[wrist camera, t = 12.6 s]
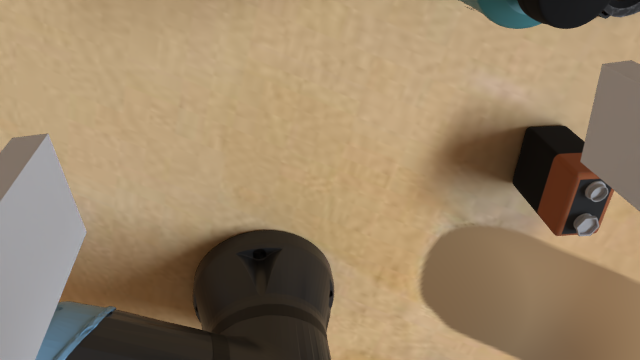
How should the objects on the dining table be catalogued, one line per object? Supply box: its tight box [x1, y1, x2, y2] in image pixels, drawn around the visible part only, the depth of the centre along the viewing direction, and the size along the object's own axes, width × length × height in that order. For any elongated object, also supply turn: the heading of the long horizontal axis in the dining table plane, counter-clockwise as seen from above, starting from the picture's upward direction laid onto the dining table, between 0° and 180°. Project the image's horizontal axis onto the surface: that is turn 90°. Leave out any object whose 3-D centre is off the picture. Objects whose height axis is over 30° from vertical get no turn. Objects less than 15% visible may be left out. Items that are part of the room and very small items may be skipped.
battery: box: [513, 126, 614, 236], centre depth 48 cm, size 4×7×10 cm, turn 179°
